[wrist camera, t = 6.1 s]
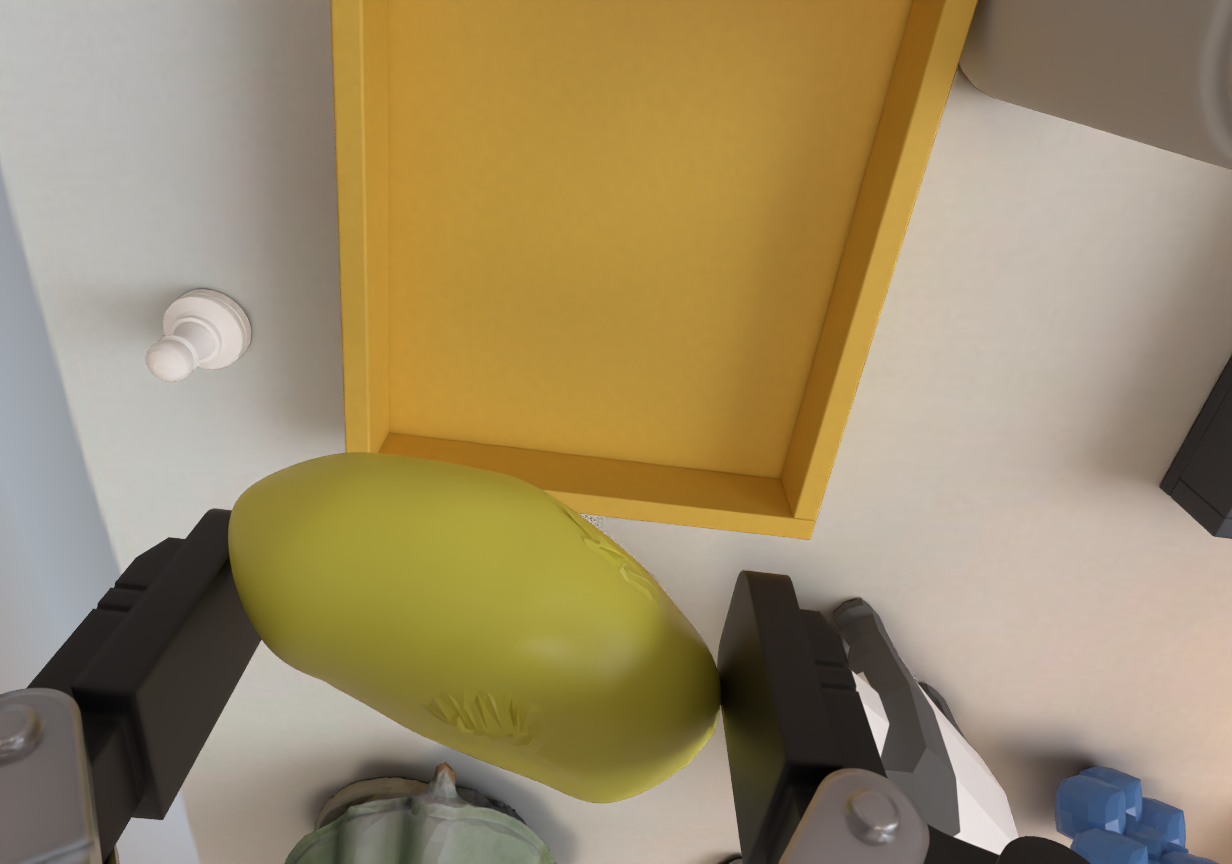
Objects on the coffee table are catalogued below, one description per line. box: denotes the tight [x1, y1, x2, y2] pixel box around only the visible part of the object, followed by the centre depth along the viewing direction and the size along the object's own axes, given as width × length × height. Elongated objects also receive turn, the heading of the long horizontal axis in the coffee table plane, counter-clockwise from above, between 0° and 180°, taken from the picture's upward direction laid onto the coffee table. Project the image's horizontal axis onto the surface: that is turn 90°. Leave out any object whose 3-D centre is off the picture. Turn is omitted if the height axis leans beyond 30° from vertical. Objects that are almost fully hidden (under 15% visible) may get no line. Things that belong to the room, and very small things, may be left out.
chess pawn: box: [146, 289, 251, 382], centre depth 25 cm, size 3×3×4 cm
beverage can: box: [959, 0, 1232, 170], centre depth 17 cm, size 5×5×12 cm
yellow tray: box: [330, 0, 978, 540], centre depth 24 cm, size 18×16×3 cm
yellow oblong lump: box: [228, 452, 721, 803], centre depth 12 cm, size 4×8×4 cm, turn 51°
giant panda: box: [834, 598, 1019, 855], centre depth 30 cm, size 15×6×10 cm, turn 39°
